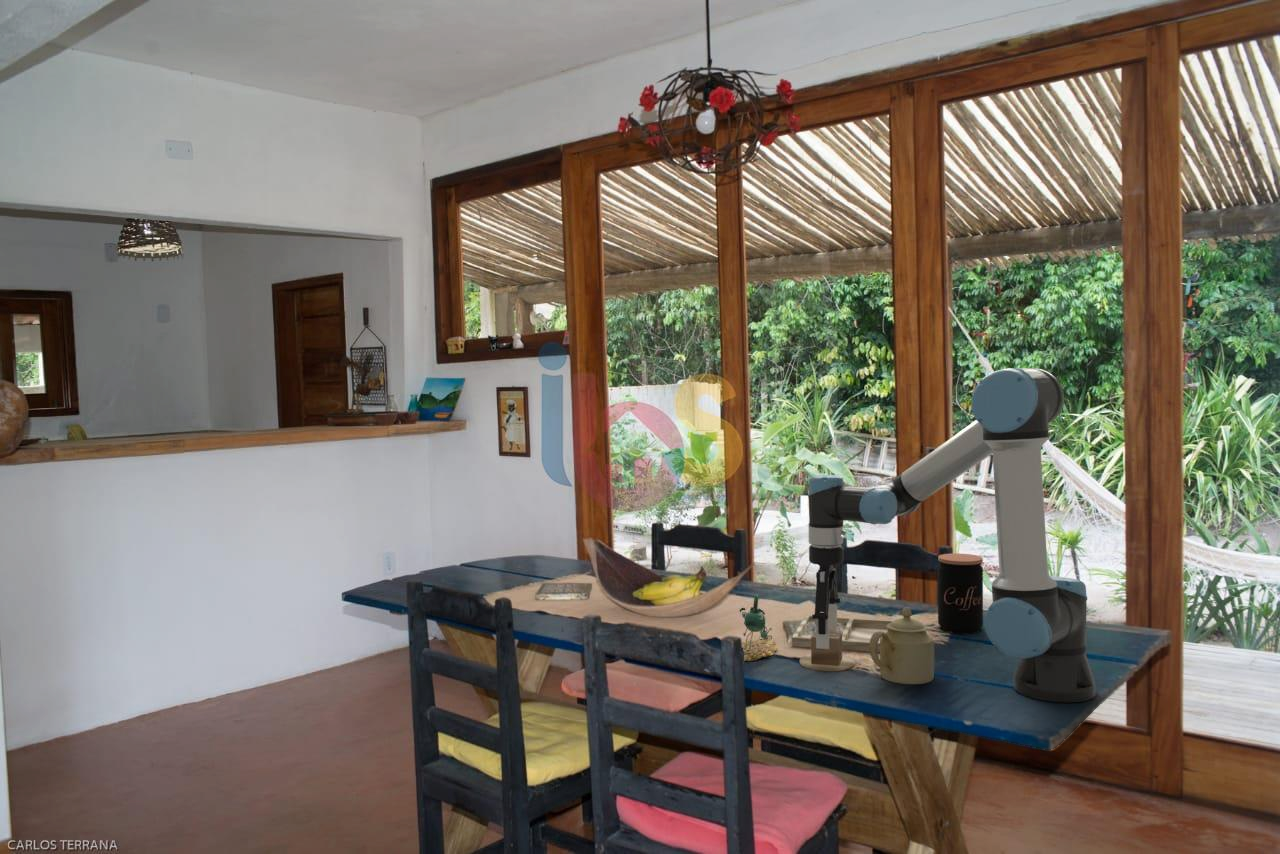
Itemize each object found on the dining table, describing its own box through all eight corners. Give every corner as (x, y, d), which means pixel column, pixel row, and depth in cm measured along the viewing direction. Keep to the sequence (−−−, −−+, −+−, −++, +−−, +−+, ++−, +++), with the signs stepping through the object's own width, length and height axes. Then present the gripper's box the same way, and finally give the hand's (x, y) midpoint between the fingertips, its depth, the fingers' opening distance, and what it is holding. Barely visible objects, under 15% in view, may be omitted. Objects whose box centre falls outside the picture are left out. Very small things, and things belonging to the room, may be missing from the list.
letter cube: (838, 666, 213) (838, 638, 213) (811, 663, 215) (811, 636, 214) (842, 658, 219) (842, 631, 218) (815, 656, 220) (815, 629, 220)
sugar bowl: (921, 693, 195) (921, 619, 195) (867, 685, 201) (867, 613, 200) (940, 673, 208) (939, 603, 207) (888, 666, 214) (888, 598, 213)
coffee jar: (939, 633, 240) (939, 560, 239) (936, 622, 250) (936, 552, 249) (985, 635, 237) (985, 561, 236) (980, 624, 248) (980, 553, 247)
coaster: (851, 673, 209) (851, 671, 209) (795, 668, 213) (795, 666, 213) (857, 657, 220) (857, 655, 220) (804, 653, 224) (804, 651, 224)
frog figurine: (795, 647, 230) (792, 587, 228) (755, 675, 216) (751, 611, 214) (760, 640, 236) (757, 581, 234) (719, 666, 222) (715, 604, 220)
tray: (892, 655, 222) (892, 644, 222) (791, 647, 229) (791, 637, 229) (898, 630, 243) (898, 620, 243) (806, 624, 250) (806, 615, 250)
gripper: (836, 556, 202) (837, 656, 203) (849, 536, 226) (850, 626, 227) (800, 554, 205) (801, 654, 206) (817, 535, 228) (817, 624, 229)
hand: (826, 640), depth 216 cm, fingers open, 13 cm apart
